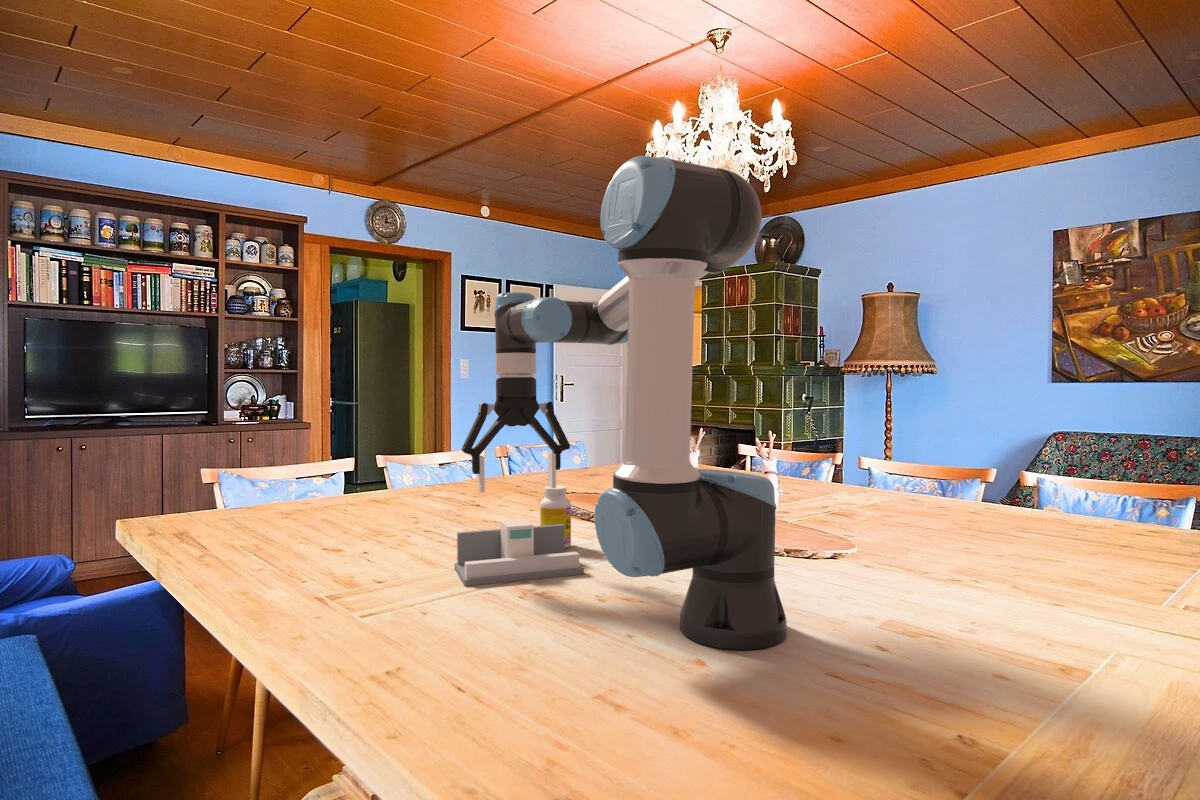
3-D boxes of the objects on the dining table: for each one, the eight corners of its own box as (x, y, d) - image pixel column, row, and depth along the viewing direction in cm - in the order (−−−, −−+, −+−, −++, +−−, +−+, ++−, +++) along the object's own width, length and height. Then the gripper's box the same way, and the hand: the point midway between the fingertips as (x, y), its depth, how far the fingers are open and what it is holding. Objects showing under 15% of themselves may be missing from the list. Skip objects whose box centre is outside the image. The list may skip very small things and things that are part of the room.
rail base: (583, 573, 133) (583, 536, 132) (464, 586, 125) (464, 546, 125) (564, 558, 144) (564, 523, 144) (454, 568, 136) (454, 532, 136)
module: (533, 567, 133) (533, 525, 133) (507, 570, 132) (507, 527, 131) (526, 559, 139) (525, 518, 139) (500, 561, 137) (500, 520, 137)
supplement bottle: (570, 550, 150) (569, 489, 150) (538, 550, 150) (538, 489, 150) (571, 542, 157) (571, 484, 156) (541, 542, 157) (541, 484, 157)
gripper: (573, 376, 142) (574, 482, 142) (445, 376, 133) (447, 490, 134) (585, 375, 135) (586, 488, 135) (451, 376, 126) (453, 496, 127)
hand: (517, 489), depth 134 cm, fingers open, 13 cm apart
